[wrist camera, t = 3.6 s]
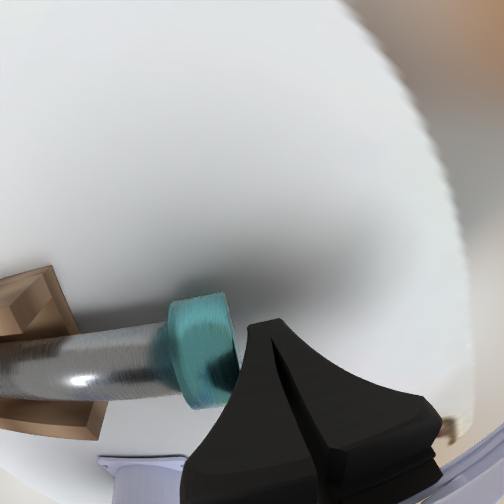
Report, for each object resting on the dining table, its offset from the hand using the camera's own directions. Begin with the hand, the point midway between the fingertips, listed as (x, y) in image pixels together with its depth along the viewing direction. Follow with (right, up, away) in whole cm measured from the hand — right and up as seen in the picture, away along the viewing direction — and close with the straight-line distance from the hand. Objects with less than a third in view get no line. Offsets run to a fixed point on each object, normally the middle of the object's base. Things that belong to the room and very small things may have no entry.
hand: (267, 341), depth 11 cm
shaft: (-9, -1, +2) cm, 9 cm away
